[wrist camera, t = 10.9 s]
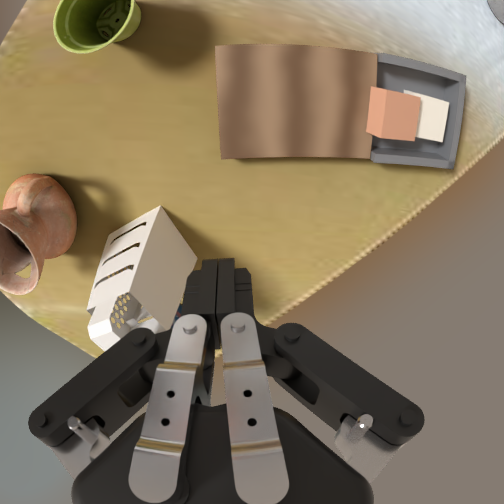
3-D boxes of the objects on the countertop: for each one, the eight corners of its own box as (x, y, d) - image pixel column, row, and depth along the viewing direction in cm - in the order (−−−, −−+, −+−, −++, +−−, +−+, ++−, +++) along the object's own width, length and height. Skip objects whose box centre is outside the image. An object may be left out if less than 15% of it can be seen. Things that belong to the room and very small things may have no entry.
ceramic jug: (64, 264, 47) (32, 321, 35) (6, 222, 40) (-37, 270, 29) (104, 187, 40) (62, 240, 28) (34, 138, 33) (-25, 174, 22)
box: (449, 72, 30) (466, 75, 27) (438, 159, 39) (453, 169, 36) (369, 52, 30) (382, 52, 27) (362, 153, 38) (374, 162, 35)
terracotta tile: (405, 93, 32) (420, 97, 29) (399, 134, 35) (414, 141, 33) (370, 86, 30) (386, 89, 28) (366, 131, 34) (380, 138, 31)
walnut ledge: (367, 54, 30) (377, 54, 28) (361, 151, 38) (369, 158, 36) (216, 47, 30) (215, 45, 27) (222, 152, 38) (221, 159, 35)
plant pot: (122, -23, 22) (95, -40, 15) (170, 13, 26) (152, 0, 19) (74, 30, 25) (39, 28, 18) (119, 66, 30) (89, 69, 23)
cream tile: (437, 98, 33) (449, 102, 30) (431, 136, 36) (442, 142, 34) (403, 89, 32) (415, 92, 30) (398, 130, 36) (408, 135, 33)
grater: (146, 280, 49) (118, 381, 33) (108, 234, 44) (58, 331, 28) (197, 258, 47) (183, 366, 31) (160, 205, 42) (119, 305, 25)
